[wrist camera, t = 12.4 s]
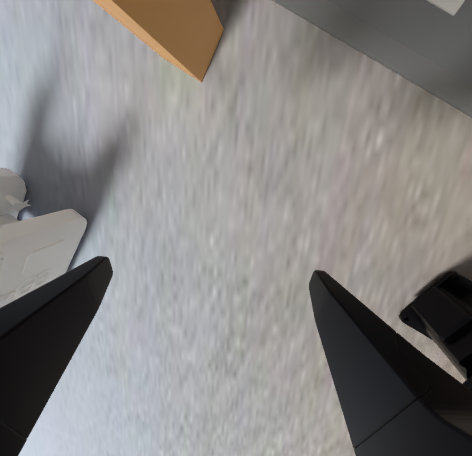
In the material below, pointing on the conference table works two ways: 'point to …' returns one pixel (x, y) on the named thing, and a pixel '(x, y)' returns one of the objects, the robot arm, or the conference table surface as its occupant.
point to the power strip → (405, 39)
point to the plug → (172, 29)
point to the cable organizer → (32, 241)
